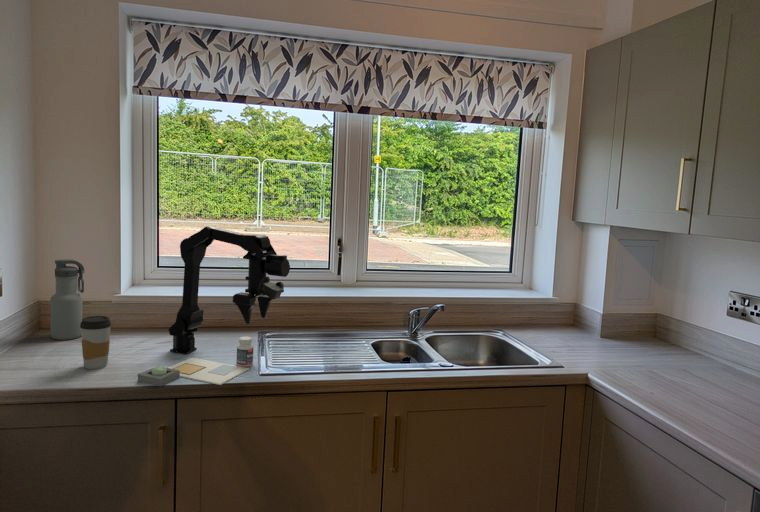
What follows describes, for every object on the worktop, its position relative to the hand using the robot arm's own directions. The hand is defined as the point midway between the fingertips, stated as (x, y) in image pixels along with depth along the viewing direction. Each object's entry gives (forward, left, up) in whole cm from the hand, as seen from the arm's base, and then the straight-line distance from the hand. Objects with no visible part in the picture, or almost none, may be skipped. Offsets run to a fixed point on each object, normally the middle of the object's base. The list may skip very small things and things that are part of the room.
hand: (255, 320), depth 165 cm
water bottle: (-73, -7, -15) cm, 75 cm away
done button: (-16, -25, -15) cm, 33 cm away
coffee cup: (-40, -25, -15) cm, 50 cm away
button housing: (-16, -25, -15) cm, 33 cm away
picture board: (-9, -13, -15) cm, 22 cm away
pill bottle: (-2, -2, -15) cm, 15 cm away
